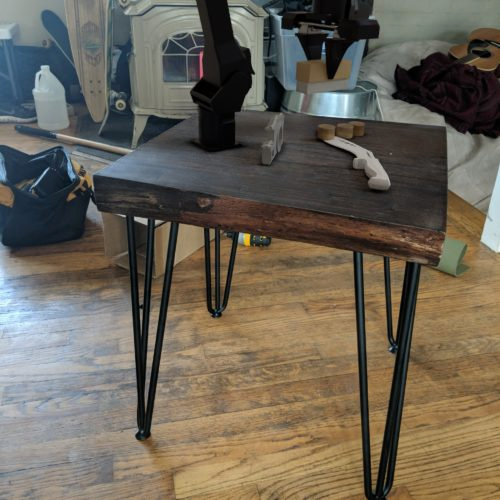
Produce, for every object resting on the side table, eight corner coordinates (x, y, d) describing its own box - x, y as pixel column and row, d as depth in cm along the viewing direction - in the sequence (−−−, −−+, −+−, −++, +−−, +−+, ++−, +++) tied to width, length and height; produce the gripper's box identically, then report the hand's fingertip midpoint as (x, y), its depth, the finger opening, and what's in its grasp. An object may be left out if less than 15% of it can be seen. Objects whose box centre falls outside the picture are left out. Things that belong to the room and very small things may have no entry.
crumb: (343, 133, 96) (345, 122, 95) (355, 131, 97) (356, 120, 96) (355, 137, 93) (357, 126, 93) (367, 134, 95) (368, 124, 94)
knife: (317, 126, 96) (359, 127, 96) (316, 135, 97) (358, 136, 96) (335, 178, 69) (393, 179, 69) (334, 190, 70) (391, 191, 70)
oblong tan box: (294, 91, 92) (296, 61, 89) (335, 85, 97) (337, 57, 94) (308, 95, 89) (310, 64, 87) (348, 89, 94) (352, 60, 92)
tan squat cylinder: (313, 136, 91) (314, 125, 90) (325, 134, 93) (326, 123, 92) (326, 140, 89) (327, 129, 88) (337, 138, 91) (339, 126, 90)
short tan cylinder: (332, 135, 94) (333, 124, 93) (343, 133, 96) (345, 122, 95) (344, 139, 92) (345, 128, 91) (355, 137, 93) (357, 126, 92)
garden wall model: (271, 166, 78) (273, 127, 76) (259, 165, 79) (261, 126, 76) (284, 143, 89) (286, 109, 86) (274, 142, 89) (275, 108, 86)
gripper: (409, -19, 82) (393, 82, 90) (328, -23, 95) (320, 66, 103) (361, -20, 76) (348, 88, 84) (281, -24, 89) (276, 70, 97)
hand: (323, 77), depth 92 cm, fingers closed on oblong tan box, 3 cm apart
